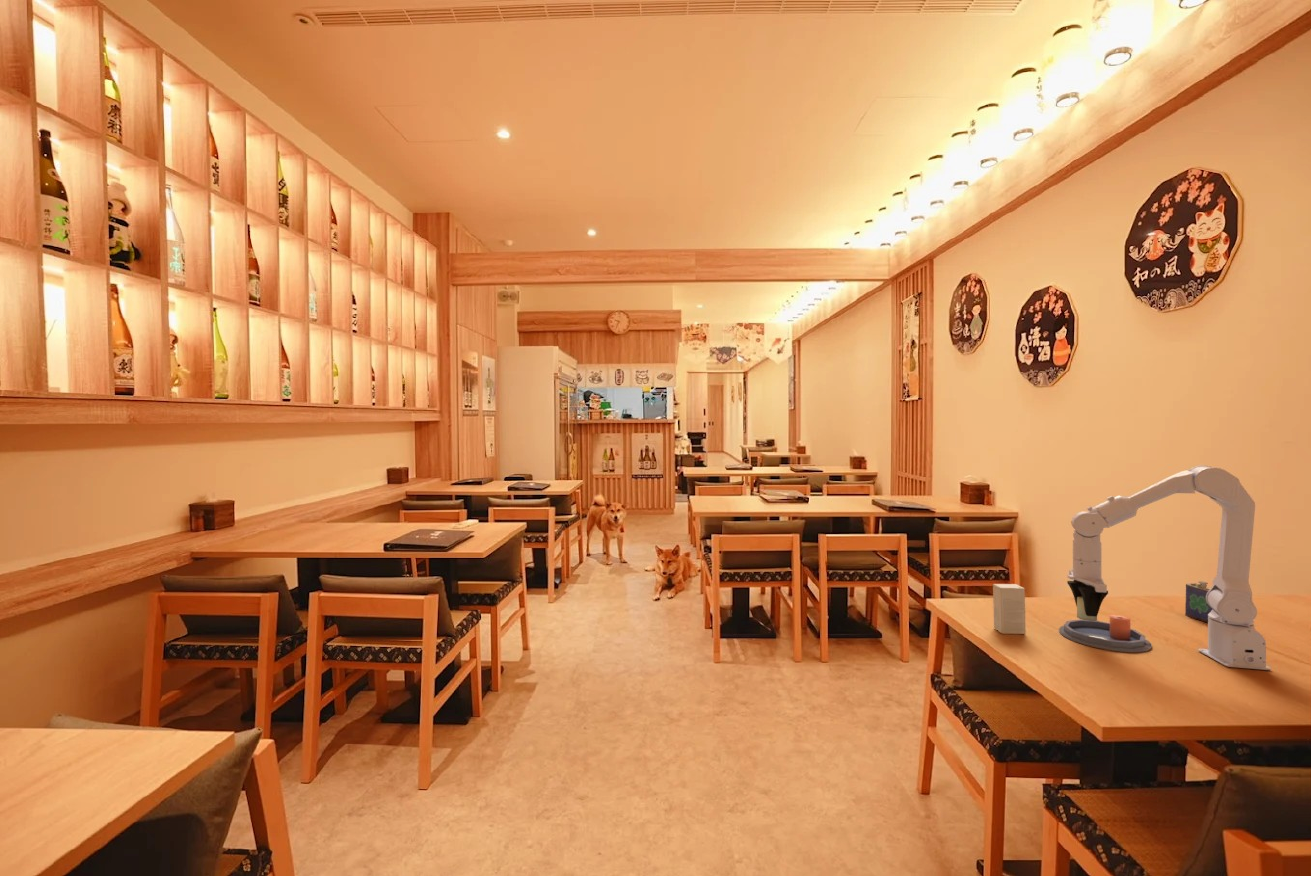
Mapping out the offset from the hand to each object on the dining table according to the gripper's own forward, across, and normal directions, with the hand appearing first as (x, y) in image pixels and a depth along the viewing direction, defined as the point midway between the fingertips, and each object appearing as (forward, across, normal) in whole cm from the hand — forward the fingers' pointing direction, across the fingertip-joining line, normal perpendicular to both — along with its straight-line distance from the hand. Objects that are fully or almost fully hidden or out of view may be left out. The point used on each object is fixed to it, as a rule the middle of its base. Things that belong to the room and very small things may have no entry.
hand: (1086, 612), depth 139 cm
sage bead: (+1, 0, 0) cm, 1 cm away
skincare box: (+6, 0, -18) cm, 19 cm away
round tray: (+6, 0, +4) cm, 7 cm away
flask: (+6, -22, +36) cm, 43 cm away
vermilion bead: (+6, 0, +7) cm, 9 cm away
